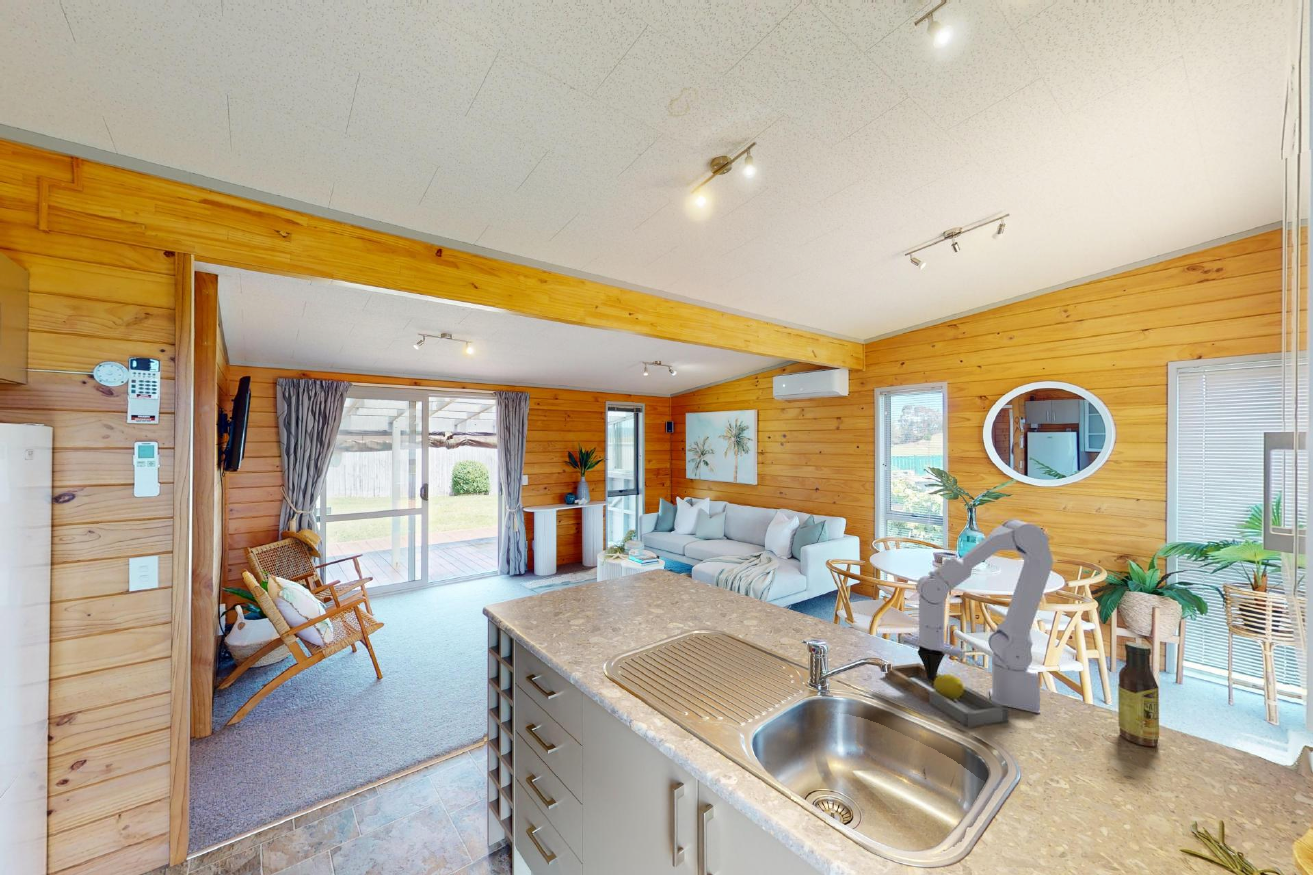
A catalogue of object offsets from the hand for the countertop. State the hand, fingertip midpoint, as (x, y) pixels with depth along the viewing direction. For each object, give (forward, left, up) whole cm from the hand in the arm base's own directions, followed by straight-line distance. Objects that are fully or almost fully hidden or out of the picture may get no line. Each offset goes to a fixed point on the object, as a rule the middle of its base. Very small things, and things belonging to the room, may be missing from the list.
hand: (931, 678), depth 128 cm
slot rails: (+1, -1, -3) cm, 4 cm away
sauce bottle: (-39, +1, -3) cm, 39 cm away
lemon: (-1, +1, -2) cm, 2 cm away
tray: (-8, +7, -3) cm, 11 cm away
